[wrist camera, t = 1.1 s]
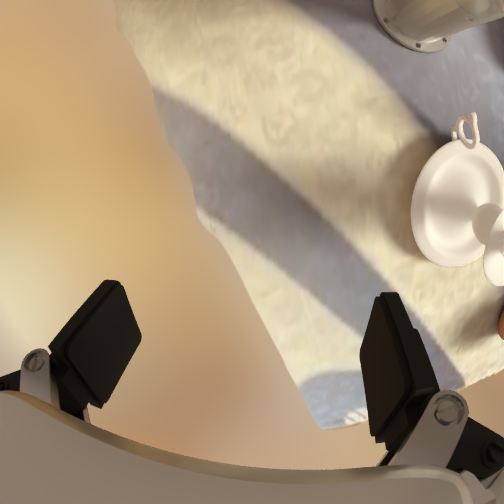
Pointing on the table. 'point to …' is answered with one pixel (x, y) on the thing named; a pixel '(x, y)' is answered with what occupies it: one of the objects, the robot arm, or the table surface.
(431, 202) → the candlestick
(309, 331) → the table surface
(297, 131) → the table surface
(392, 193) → the table surface
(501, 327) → the ceramic jug
